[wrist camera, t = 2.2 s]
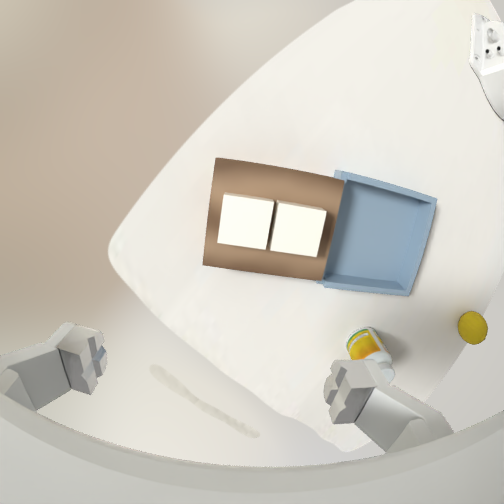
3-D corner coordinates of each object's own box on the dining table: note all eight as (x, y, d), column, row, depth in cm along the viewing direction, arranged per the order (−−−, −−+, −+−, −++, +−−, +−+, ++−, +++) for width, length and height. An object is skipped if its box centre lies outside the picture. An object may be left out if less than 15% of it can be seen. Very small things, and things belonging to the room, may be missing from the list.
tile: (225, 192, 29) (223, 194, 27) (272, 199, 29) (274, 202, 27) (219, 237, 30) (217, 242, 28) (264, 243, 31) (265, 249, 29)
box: (335, 169, 32) (344, 171, 29) (423, 194, 33) (437, 198, 30) (312, 275, 36) (318, 286, 33) (397, 285, 37) (408, 296, 34)
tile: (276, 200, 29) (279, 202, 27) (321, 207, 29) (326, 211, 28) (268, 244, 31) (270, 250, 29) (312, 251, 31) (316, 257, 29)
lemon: (474, 309, 40) (497, 329, 32) (459, 332, 41) (480, 354, 34) (462, 300, 39) (488, 321, 31) (446, 325, 41) (469, 348, 33)
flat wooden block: (219, 157, 31) (215, 157, 28) (333, 177, 32) (344, 180, 28) (207, 253, 35) (202, 265, 31) (314, 268, 36) (321, 281, 32)
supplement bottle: (381, 328, 40) (406, 366, 31) (366, 354, 41) (386, 393, 32) (354, 323, 39) (377, 363, 30) (339, 350, 41) (357, 392, 32)
